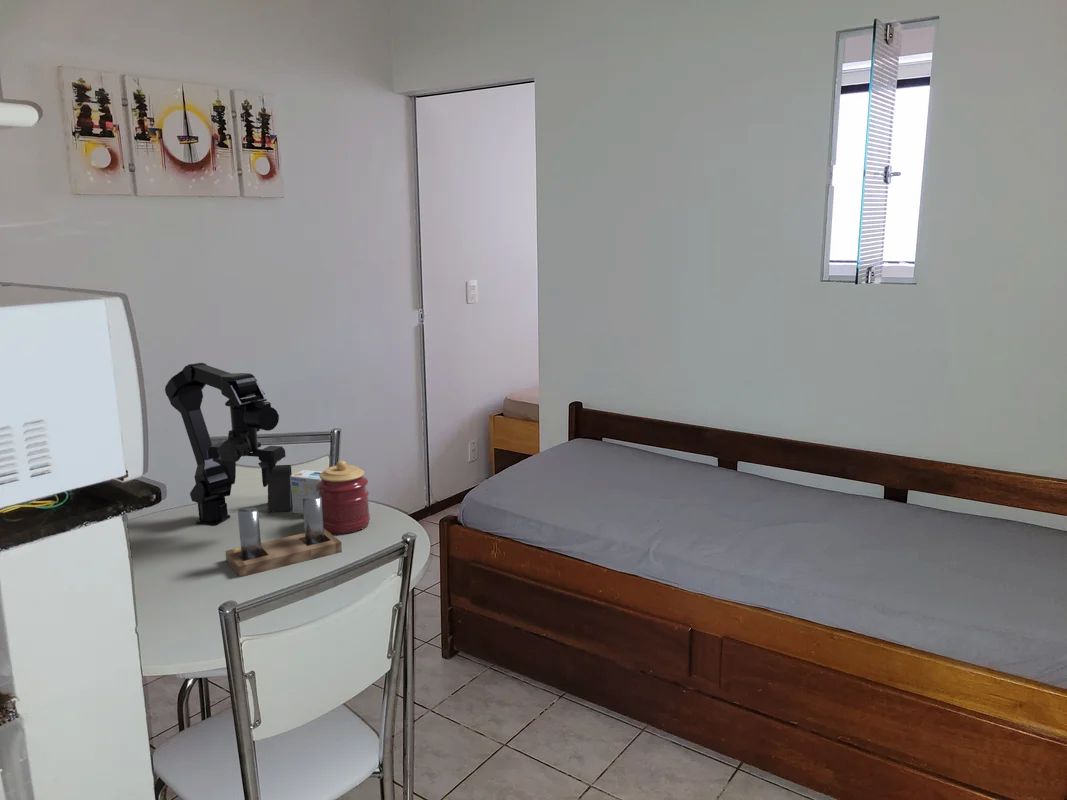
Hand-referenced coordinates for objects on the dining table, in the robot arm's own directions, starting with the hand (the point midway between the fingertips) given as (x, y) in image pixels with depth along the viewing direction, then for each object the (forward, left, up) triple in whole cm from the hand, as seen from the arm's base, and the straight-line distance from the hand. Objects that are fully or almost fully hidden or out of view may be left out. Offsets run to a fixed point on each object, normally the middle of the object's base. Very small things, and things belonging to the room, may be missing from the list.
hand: (249, 485), depth 199 cm
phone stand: (-4, +20, -13) cm, 24 cm away
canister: (+20, +11, -13) cm, 26 cm away
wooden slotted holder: (+16, -11, -13) cm, 23 cm away
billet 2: (+20, -5, -13) cm, 25 cm away
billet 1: (+11, -16, -13) cm, 24 cm away
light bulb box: (+7, +19, -13) cm, 24 cm away
